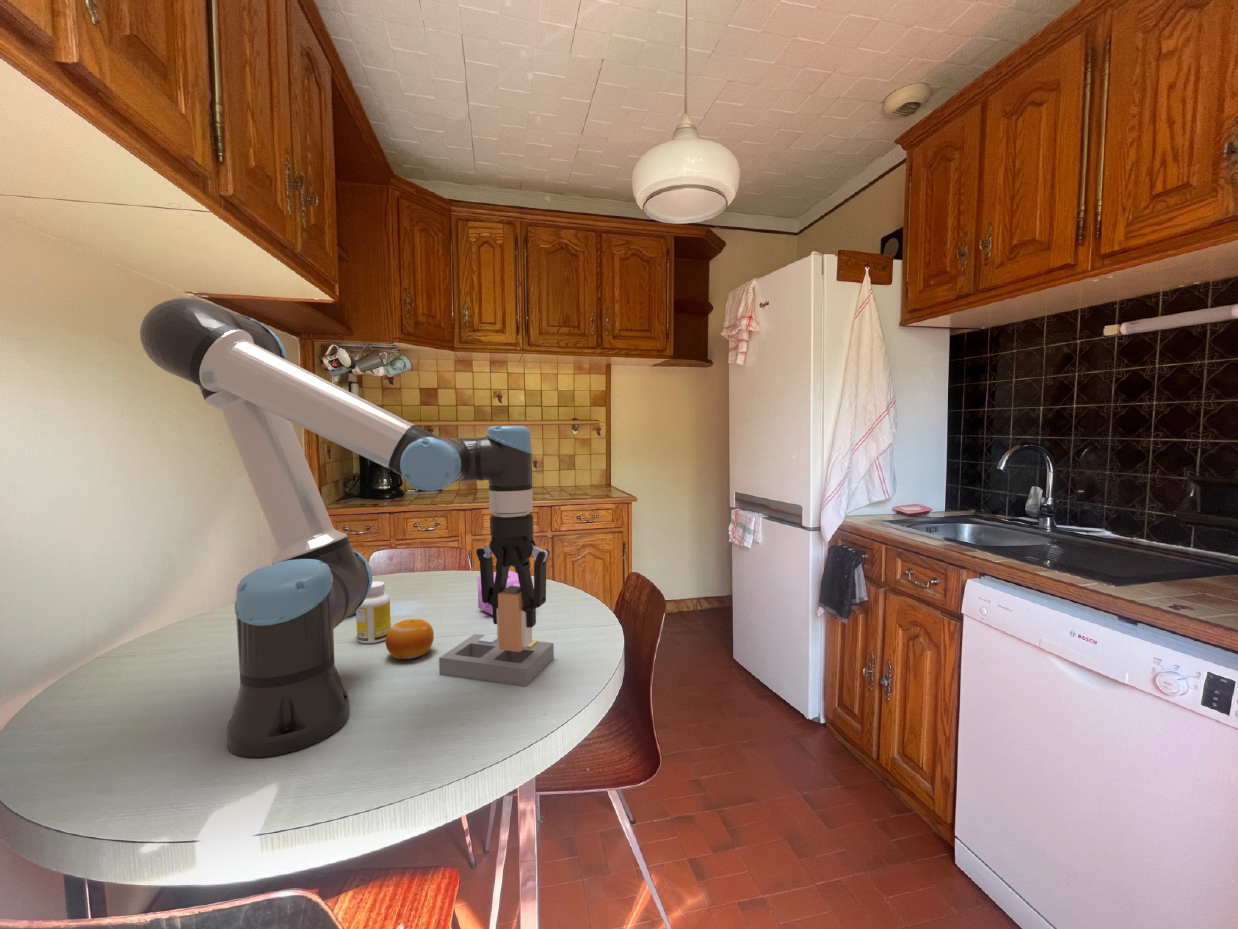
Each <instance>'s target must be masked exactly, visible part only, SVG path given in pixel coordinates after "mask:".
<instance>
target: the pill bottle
mask: <svg viewBox="0 0 1238 929" xmlns="http://www.w3.org/2000/svg"><path fill="white" fill-rule="evenodd" d="M385 589H386V588H385V582H384V581H379V580H377V581H372V585H371V589H370V592H369V594H368V596H367V597H366V599H365V600H364V602H363V603H362V605H361V606H360V607H359V608H358V609H357V610H356V614H355V616H356V617H355V618H356V619H355V621H356V639H357V641H358V642H359V643H362V644H375V643H376V644H377V643H379V642H383V641H385V640H386V636H387V634H388V631H389V630H390V628H391V627H392V625H391V624H392V623H391V620H392V619H391V605H390V604H391V600H390V596H389V594H387V593H385V592H384V591H385Z"/></svg>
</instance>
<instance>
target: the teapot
mask: <svg viewBox="0 0 1238 929" xmlns="http://www.w3.org/2000/svg"><path fill="white" fill-rule="evenodd" d="M493 573H494V582H495V576H496V572H493ZM509 586H520V584H519V579H518V574H517V573H516V571H512V570H509V572H508V578H507V584H506V588H508V587H509ZM477 606H478V608H477V609H479V610H482V611H484V612H485V613H486V614H490V615H492V616H493V607H492V605H490V604H489V603H484V602H483V601H482V590H481V575H478V576H477Z"/></svg>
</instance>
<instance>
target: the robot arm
mask: <svg viewBox="0 0 1238 929" xmlns="http://www.w3.org/2000/svg"><path fill="white" fill-rule="evenodd" d="M139 335H140V336H139V337H140V342H141V345H142V348H143V350H144V352H145V354H147V356H148V358H149V359H150V360H151V361H152V362H153V363H154V364H155V365H156V366H157V367H159V368H160V369H162V370H163V371H165V372H167V373H169V374H170V375H173V376H176V377H178V378H181V379H183V380H186V381H188V382H190V383H192V384H195V385H197V386H198V387H199V390H200V392H201V394H202V397H203V399H204V402H205V404H206V405H208V406H211V407H213V408H214V409H217V410H219V411H220V412H221V413H222V416H223V418H224V421H225V423H226V425H227V428H228V430H229V434H230V435H231V438H232V440H233V442H234V445H235V447H236V449H237V452H238V454H239V455H238V456H239V457H240V459H241V462H242V465H243V467H244V469H245V471H246V473H247V477H248V479H249V481H250V483H251V486H252V489H253V491H254V493H255V496H256V498H257V501H258V503H259V506H260V508H261V511H262V513H263V515H264V518H265V520H266V523H267V525H268V527H269V529H270V530H269V531H270V532H271V534H272V535H271V536H272V538H273V539H274V542H275V545H276V546H277V550H276V553H275V554H274V556H273V558H272V560H271V563H272V564H270V565H269V564H268V565H263V566H262V567H261V566H260V567H258V568H256V569H255V570H252V571H251V572H249V573H247V574H246V575H245V576H243V577H242V578H241V580H240V581H239V582H238V584H237V587H236V593H235V595H236V598H235V599H236V600H235V602H234V612H235V613H234V614H235V616H236V633H237V634H236V635H237V653H238V668H239V690H238V693H237V696H236V698H235V699H236V700H235V703H234V706H233V710H232V714H231V717H230V719H229V721H228V724H227V727H226V744H227V749H228V751H230V752H231V753H233V755H237V756H241V757H246V758H264V757H265V758H266V757H275V756H279V755H284V754H288V753H291V752H295V751H298V750H302V749H304V748H307V747H309V746H312V745H314V744H317V743H318V742H321V741H323V740H325V739H326V738H328V737H330V736H331V735H333V734H335V733H336V732H337V731H339V730H340V729H341V728H342V727H343V726H344V725H345V724H346V723H347V721H348V719H349V717H350V714H351V711H350V710H351V708H350V698H349V695H348V692H347V691H346V690H345V687H344V684H343V682H342V681H343V680H342V679H341V676H340V674H339V672H338V671H337V670H338V669H337V667H336V662H335V639H334V637H335V636H334V635H335V634H334V630H335V628H337V627H338V626H339V625H340V624H341V623H343V621H344V620H345V619H347V618H349V616H352V615H351V614H352V613H354V612H355V611H356V610H357V609H358V608H359V607H360V606H361V605H362V603H363V602H364V600H365V599H366V597H367V596H368V594H369V592H370V589H371V585H372V582H373V572H372V571H373V570H372V567H371V566H370V565H371V564H370V563H369V561H368V560H367V559H366V557H365V556H364V555H362V554H361V553H360V552H359V551H356V550H354V549H353V547H352V544H351V542H350V540H349V537H348V534H346V533H344V532H342V531H339V530H337V529H336V528H334V525H333V524H332V521H331V518H330V516H329V513H328V510H327V508H326V505H325V503H324V501H323V498H322V496H321V493H320V491H319V488H318V486H317V483H316V481H315V478H314V476H313V473H312V471H311V468H310V466H309V463H308V461H307V459H306V458H307V457H306V456H305V453H304V450H303V448H302V445H301V443H300V441H299V438H298V435H297V434H296V431H295V428H294V425H293V424H296V425H297V426H299V427H301V428H304V429H306V430H307V431H310V432H312V433H314V434H317V435H318V436H320V437H322V438H324V439H326V440H329V441H330V442H333V443H334V444H337V445H339V446H341V447H343V448H345V449H347V450H349V451H352V453H355V454H357V455H359V456H362V457H363V458H366V459H368V460H370V461H372V462H374V463H376V464H378V465H379V466H382V467H384V468H387V469H389V470H390V471H392V472H394V473H396V474H397V475H400V476H402V477H403V478H404V480H405V482H407V483H408V484H409V485H410V486H412V487H413V488H415V489H417V490H421V491H427V492H428V491H429V492H436V491H439V490H443V489H446V488H448V487H449V486H451V485H452V484H454V483H456V482H470V481H471V482H475V481H480V482H481V481H482V482H483V481H488V499H489V505H488V506H489V508H488V509H489V512H490V513H491V515H490V517H489V535H490V536H491V539H490V541H489V545H484V546H482V547H479V548H477V549H476V551H475V552H476V553H475V554H476V555H477V559H478V561H479V571H480V572H479V573H480V576H481V590H482V601H483V602H484V603H489V604H490V605H492V607H493V615H492V621H493V624H494V625H496V628H497V629H496V631H497V632H496V633H497V635H496V636H497V641H498V644H499V616H498V594H499V593H500V592H502V591H504V589H506V584H507V578H508V572H509V571H510V568H511V567H514V570H515V571H514V572H515V573H517V574H518V579H519V584H520V588H521V593H522V598H523V602H524V607H525V608H523V609H522V610H521V643H522V647H527V646H528V645H529V644H530V643H531V642H532V640H533V627H534V626H536V623H537V613H536V612H537V610H536V609H537V608H540V607H541V606H543V605H544V604H545V603H546V602H547V562H548V559H549V556H550V554H551V553H550V550H549V549H548V548H546V549H542V548H540V547H538V546H536V545H537V544H536V542H535V540H534V514H532V513H531V512H532V511H533V510H534V505H533V503H534V502H533V500H534V499H533V451H532V450H533V449H532V436H531V431H530V429H528V427H526V426H524V425H492V426H489V427H487V432H486V436H483V437H440V436H438V435H436V434H435V433H432V432H430V431H428V430H426V429H424V428H422V427H419V426H417V425H416V424H414V423H412V422H410V421H408V420H406V419H403V418H402V417H400V416H398V415H396V414H394V413H393V412H390V411H388V410H386V409H385V408H382V407H380V406H378V405H376V404H374V403H372V402H371V401H369V400H366V399H364V398H362V397H360V396H359V395H356V394H354V393H352V392H350V391H349V390H346V389H345V388H343V387H341V386H338V385H337V384H334V383H333V382H331V381H329V380H327V379H324V378H323V377H320V376H319V375H316V374H315V373H313V372H311V371H309V370H307V369H305V368H303V367H301V366H299V365H297V364H294V363H293V362H291V361H289V360H287V353H286V350H285V346H284V345H283V343H282V341H281V340H280V338H279V337H278V336H277V335H276V333H274V331H272V330H271V329H270V328H268V327H267V326H265V325H264V324H262V323H261V322H259V321H257V320H256V319H254V318H252V317H249V316H245V315H242V314H236V312H235V313H234V312H233V311H230V310H227V309H225V308H223V307H220V306H218V305H215V304H213V303H210V302H208V301H205V300H202V299H197V298H189V297H182V298H181V297H180V298H172V299H168V300H164V301H161V302H159V303H158V304H156V305H154V307H152V308H150V309H149V311H148V312H147V313H146V314H145V316H144V317H143V319H142V322H141V325H140V331H139ZM493 555H494V557H495V559H496V562H495V572H494V563H493V562H494V559H493ZM532 555H533V558H532V559H533V561H534V565H533V566H534V567H533V578H532V574H531V570H530V569H531V562H530V558H531V556H532ZM494 573H496V576H495V582H494Z"/></svg>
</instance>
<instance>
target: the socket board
mask: <svg viewBox="0 0 1238 929" xmlns="http://www.w3.org/2000/svg"><path fill="white" fill-rule="evenodd" d="M554 648H555V647H554V642H549V641H540V640H537V639H532V642H531V643H530V644H529V645H528V646H527V647H525V648H524V649H523V650H522V651H521V652H516V651H507V650H499V644H498V641H497V635H493V634H477V633H474V634H472V635H470V636H469V637H468V638H467V639H465V640H463V641H462V642H461V643H459V644H457V645H456V646H453V648H451V649H450V650H449V651H447V652H445V653H444V654H442V655H441V656H439V657H438V662H439V663H438V664H439V666H438V669H439V675H443V676H450V677H457V678H465V679H471V680H472V679H473V680H479V681H486V682H492V683H500V684H506V685H514V686H520V687H527V686H528V685H529V684H531V682H532V681H533V680H534V679H535V678H536V677H537V676H538V675H539V674H540V673H541V672H542V671H543V670H544V669H545V668H546V667H547V666H548V665H549V664H550V663H551V662H552V661H553V660H554V659H555V658H554V657H555V653H554Z"/></svg>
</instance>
